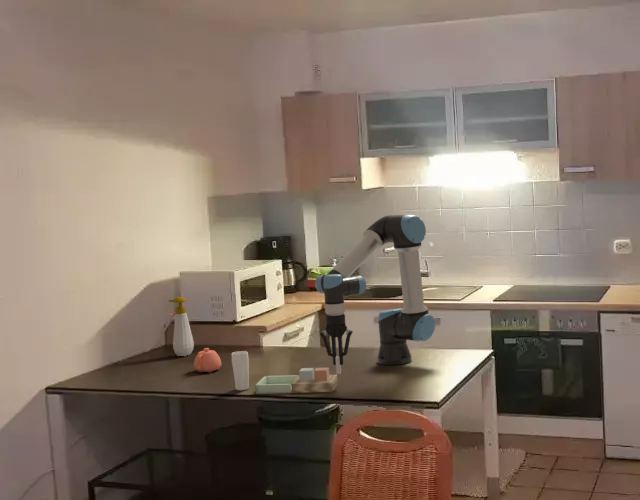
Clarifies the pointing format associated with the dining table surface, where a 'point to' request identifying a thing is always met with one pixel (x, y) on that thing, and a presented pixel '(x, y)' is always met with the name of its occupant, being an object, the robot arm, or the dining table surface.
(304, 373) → the tile grey
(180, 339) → the soap bottle
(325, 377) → the salmon pink block
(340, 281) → the robot arm
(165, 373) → the dining table surface
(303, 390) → the board
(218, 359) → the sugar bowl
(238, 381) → the drinking glass
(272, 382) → the tray
